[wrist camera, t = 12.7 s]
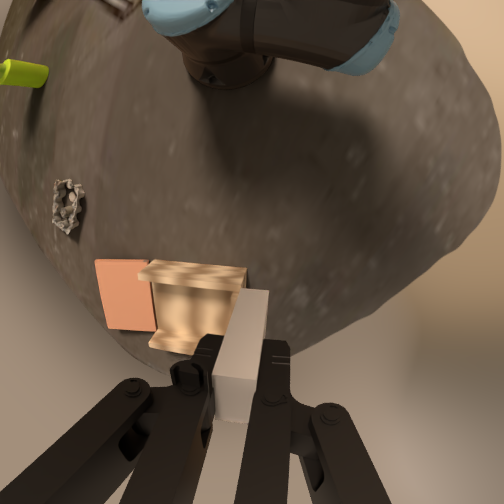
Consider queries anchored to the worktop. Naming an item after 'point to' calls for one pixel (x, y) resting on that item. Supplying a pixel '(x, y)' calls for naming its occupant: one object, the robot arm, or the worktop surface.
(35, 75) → the soap dispenser
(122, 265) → the panel
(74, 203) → the egg carton
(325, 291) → the worktop surface
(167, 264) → the wooden open box
